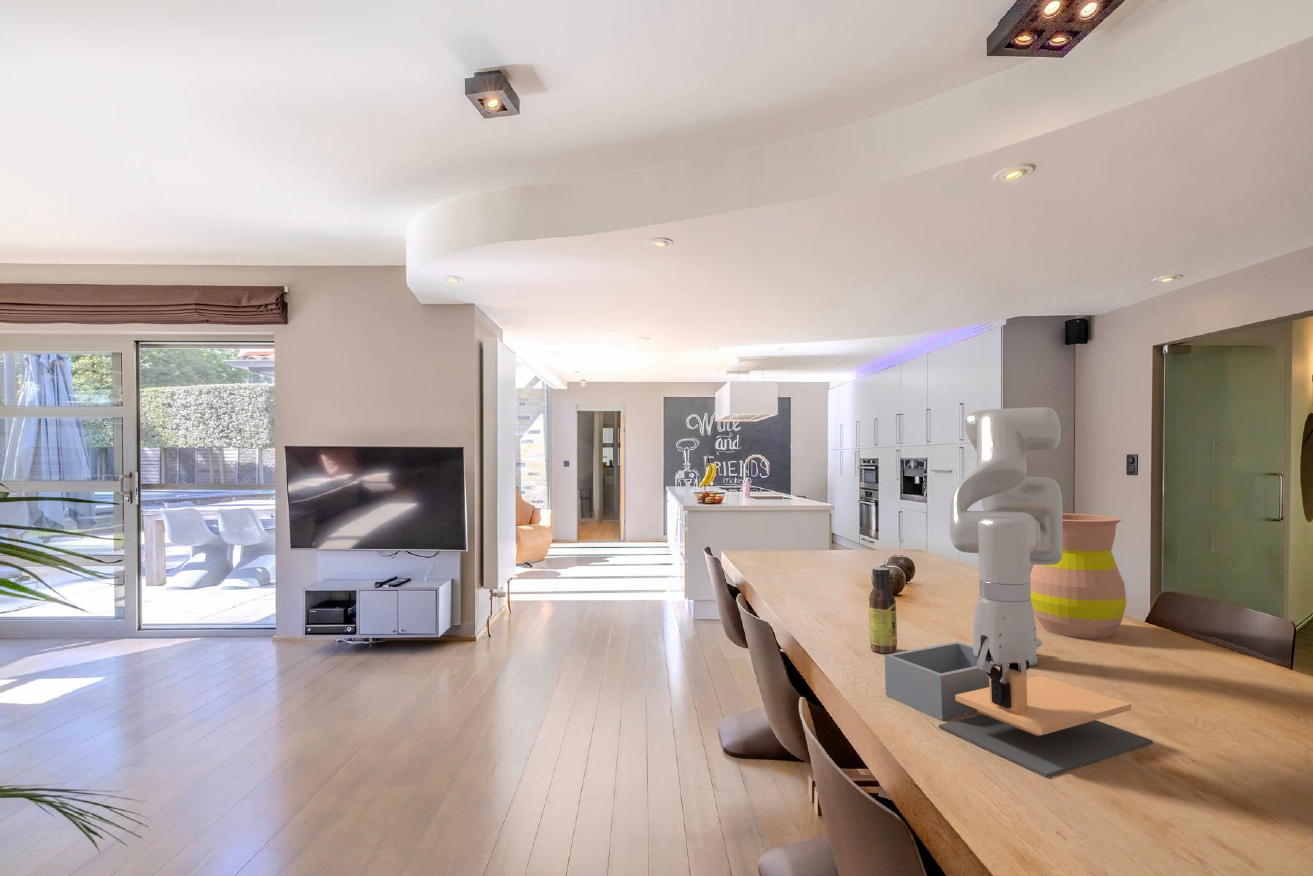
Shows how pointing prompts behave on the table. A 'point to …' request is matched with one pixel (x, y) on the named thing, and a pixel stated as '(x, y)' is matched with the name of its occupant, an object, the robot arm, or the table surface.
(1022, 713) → the lid
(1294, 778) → the table surface
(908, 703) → the tub
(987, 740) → the mat
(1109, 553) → the vase
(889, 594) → the sauce bottle
